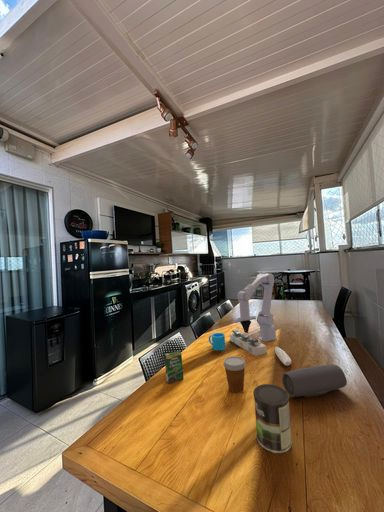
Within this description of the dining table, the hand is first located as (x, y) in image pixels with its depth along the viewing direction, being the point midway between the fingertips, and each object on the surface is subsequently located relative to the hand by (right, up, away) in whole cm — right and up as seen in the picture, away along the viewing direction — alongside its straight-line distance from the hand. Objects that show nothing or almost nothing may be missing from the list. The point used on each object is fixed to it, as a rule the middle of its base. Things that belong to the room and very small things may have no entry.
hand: (246, 332), depth 138 cm
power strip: (0, -10, +5) cm, 11 cm away
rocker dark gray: (-1, -3, +2) cm, 4 cm away
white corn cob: (+15, -9, -18) cm, 25 cm away
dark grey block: (-4, -3, +10) cm, 11 cm away
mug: (-18, -11, +4) cm, 21 cm away
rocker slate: (+3, -3, -7) cm, 7 cm away
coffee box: (-42, -12, -32) cm, 54 cm away
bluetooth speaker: (+16, -8, -48) cm, 51 cm away
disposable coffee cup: (-15, -10, -42) cm, 45 cm away
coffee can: (-8, -9, -69) cm, 70 cm away
